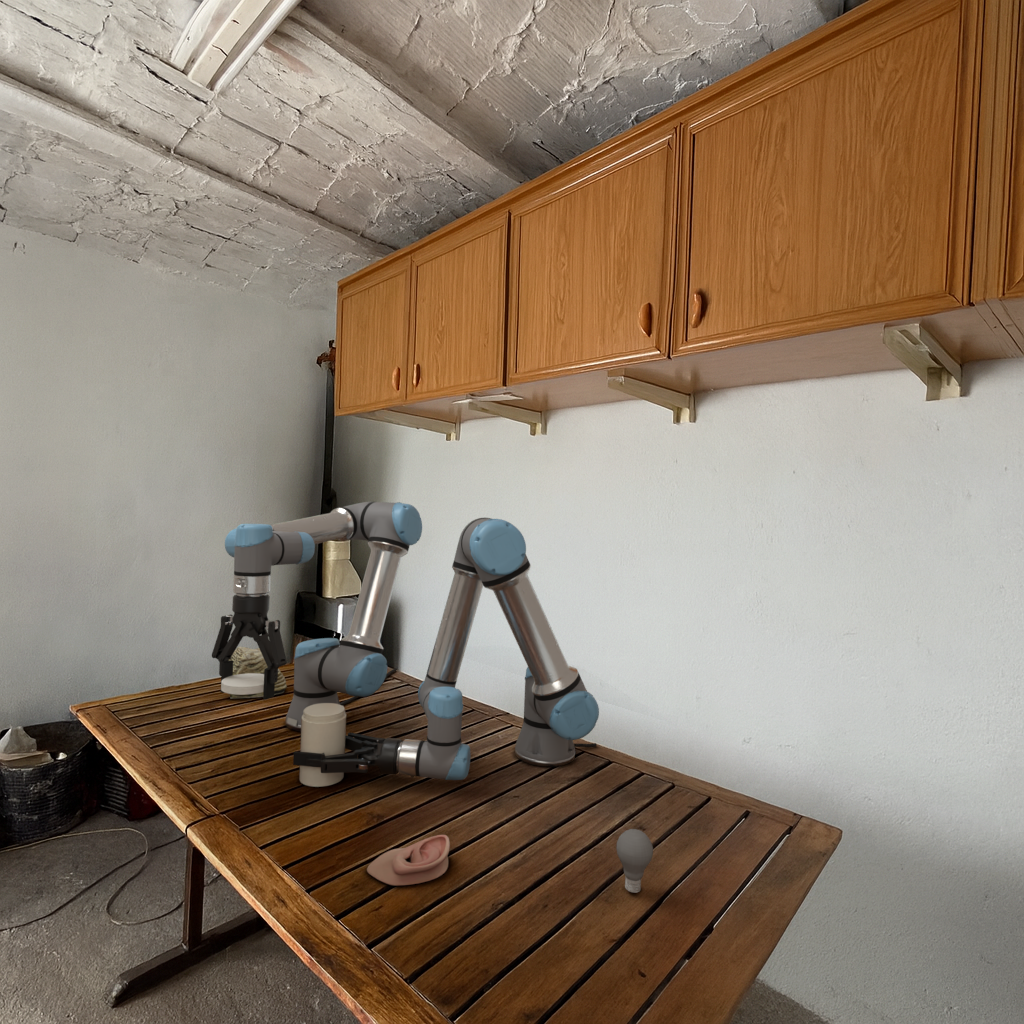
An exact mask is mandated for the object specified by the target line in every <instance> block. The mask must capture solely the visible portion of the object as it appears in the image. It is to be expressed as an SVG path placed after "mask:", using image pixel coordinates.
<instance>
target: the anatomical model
mask: <svg viewBox="0 0 1024 1024" xmlns="http://www.w3.org/2000/svg"><path fill="white" fill-rule="evenodd" d="M450 849H451V843H450V838H449V836H448V835H446V834H437V835H434V836H430V837H426V838H423V839H421V840H419V841H417V842H415V843H413V844H410V845H408V846H406V847H403V848H402V847H400V848H394V849H390V850H388V851H386V852H384V853H382V854H381V855H379V856H378V857H376V858H375V859H374V860H373V861H371V862H370V864H369V865H368V866H367V868H366V872H367V873H368V874H369V875H370V876H371V877H373V878H374V879H376V880H378V881H379V882H382V883H384V884H386V885H389V886H410V885H415V884H421V883H425V882H430V881H432V880H435V879H437V878H439V877H441V876H443V874H445V873H446V872H447V870H448V868H449V857H448V855H449V853H450Z"/></svg>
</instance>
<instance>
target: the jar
mask: <svg viewBox="0 0 1024 1024" xmlns="http://www.w3.org/2000/svg"><path fill="white" fill-rule="evenodd" d="M346 735H347V712H346V708H345V707H344V705H339V704H334V703H320V704H314V705H311V706H308V707H306V708H305V709H304V711H303V715H302V719H301V731H300V748H299V749H300V750H299V752H310V753H321V754H322V753H324V754H325V756H328V755H337V754H345V753H346V749H345V739H346ZM298 774H299V775H298V781H299V782H300V783H301V784H303V785H304V786H307V787H315V788H319V787H329V786H332V785H335V784H337V783H339V782H341V781H342V780H343V779H344V777H345V773H321V767H311V766H300V765H299V773H298Z"/></svg>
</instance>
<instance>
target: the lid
mask: <svg viewBox="0 0 1024 1024" xmlns="http://www.w3.org/2000/svg"><path fill="white" fill-rule="evenodd" d="M221 690H222V691H223V692H224V693H225V694H228V695H230V694H236V695H246V694H256V693H261V692H263V690H264V674H258V673H248V674H238V675H233V676H229V677H226V678H224V679H223V680H222V681H221V680H220V691H221Z"/></svg>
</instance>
